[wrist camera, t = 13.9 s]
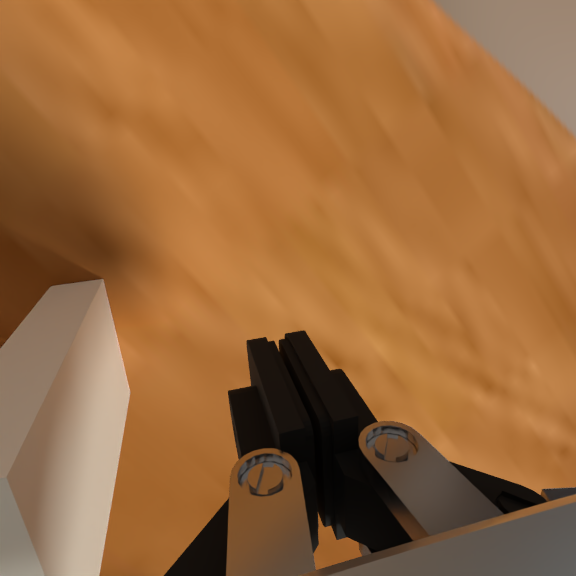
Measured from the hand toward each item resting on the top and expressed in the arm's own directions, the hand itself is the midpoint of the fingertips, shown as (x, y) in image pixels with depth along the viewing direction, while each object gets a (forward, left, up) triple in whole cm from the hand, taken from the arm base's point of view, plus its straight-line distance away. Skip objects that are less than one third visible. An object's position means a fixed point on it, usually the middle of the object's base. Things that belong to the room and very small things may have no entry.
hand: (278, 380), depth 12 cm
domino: (-1, +6, -6) cm, 9 cm away
